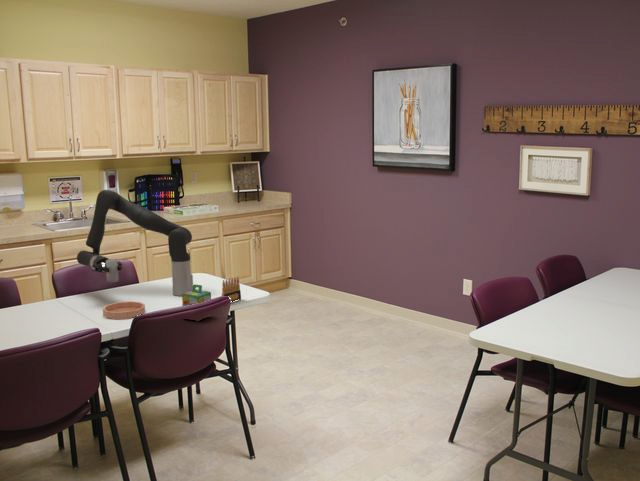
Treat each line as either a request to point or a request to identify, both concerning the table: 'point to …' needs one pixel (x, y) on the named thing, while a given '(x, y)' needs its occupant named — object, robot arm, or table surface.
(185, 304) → the chalk box
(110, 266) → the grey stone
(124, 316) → the terracotta bowl
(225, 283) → the ammunition clip
